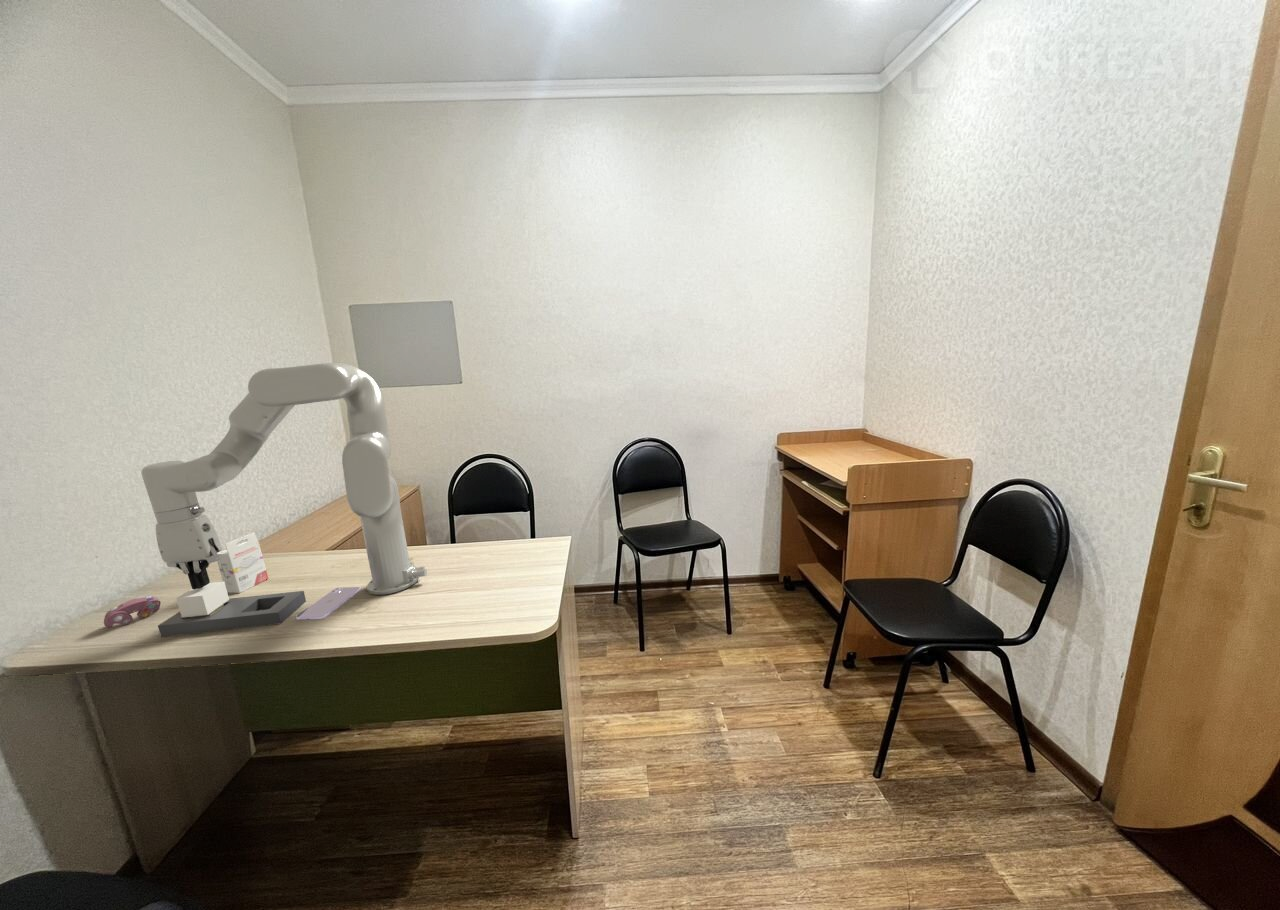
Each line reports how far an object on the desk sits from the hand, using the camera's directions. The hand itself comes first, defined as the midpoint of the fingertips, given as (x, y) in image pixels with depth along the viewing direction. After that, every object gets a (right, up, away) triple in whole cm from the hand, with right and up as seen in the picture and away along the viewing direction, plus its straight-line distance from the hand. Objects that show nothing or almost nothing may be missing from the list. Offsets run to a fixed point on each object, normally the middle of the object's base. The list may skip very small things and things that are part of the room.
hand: (201, 586), depth 112 cm
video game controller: (-21, -10, +5) cm, 23 cm away
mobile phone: (+26, -7, +8) cm, 28 cm away
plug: (0, -9, +2) cm, 9 cm away
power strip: (+7, -9, +3) cm, 11 cm away
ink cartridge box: (-6, -6, +20) cm, 22 cm away
